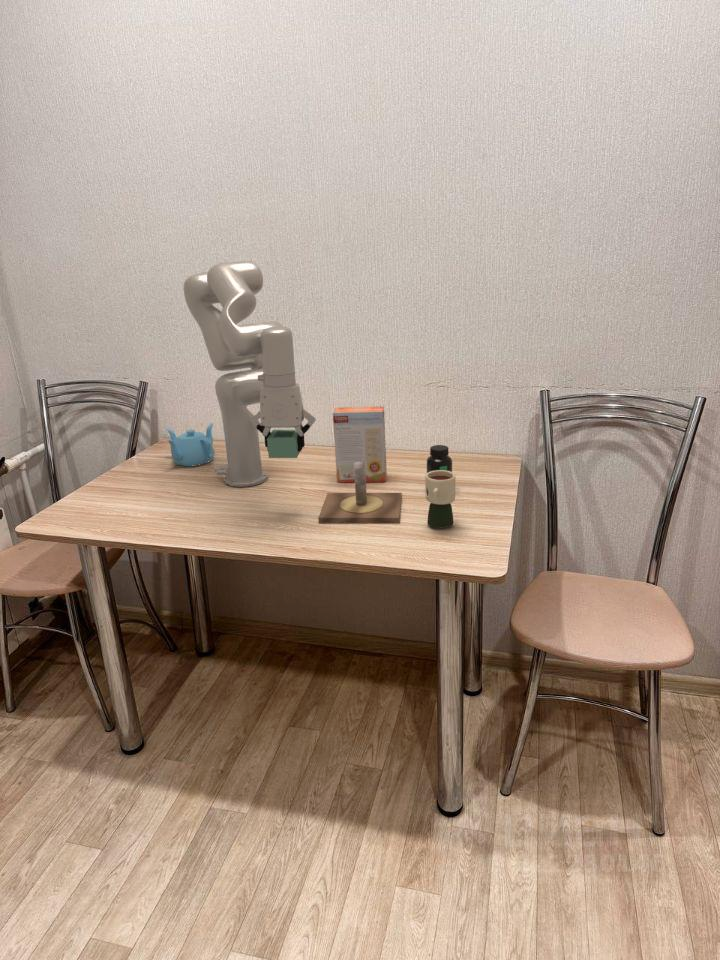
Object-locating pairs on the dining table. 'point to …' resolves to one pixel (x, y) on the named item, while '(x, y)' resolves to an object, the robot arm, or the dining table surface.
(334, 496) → the post board
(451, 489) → the character mug
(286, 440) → the collar
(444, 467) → the supplement bottle
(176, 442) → the teapot
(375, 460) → the cracker box
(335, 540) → the dining table surface
